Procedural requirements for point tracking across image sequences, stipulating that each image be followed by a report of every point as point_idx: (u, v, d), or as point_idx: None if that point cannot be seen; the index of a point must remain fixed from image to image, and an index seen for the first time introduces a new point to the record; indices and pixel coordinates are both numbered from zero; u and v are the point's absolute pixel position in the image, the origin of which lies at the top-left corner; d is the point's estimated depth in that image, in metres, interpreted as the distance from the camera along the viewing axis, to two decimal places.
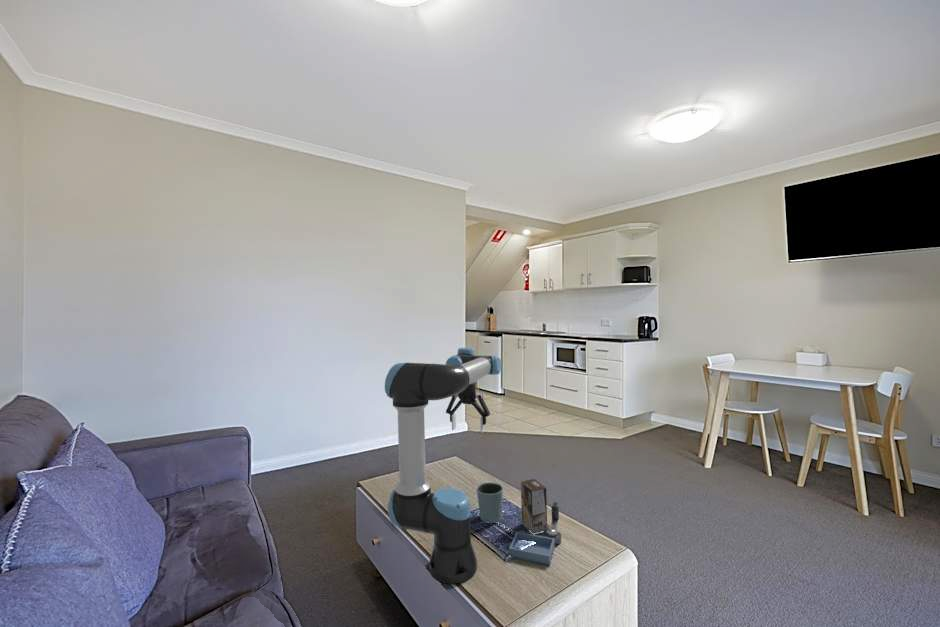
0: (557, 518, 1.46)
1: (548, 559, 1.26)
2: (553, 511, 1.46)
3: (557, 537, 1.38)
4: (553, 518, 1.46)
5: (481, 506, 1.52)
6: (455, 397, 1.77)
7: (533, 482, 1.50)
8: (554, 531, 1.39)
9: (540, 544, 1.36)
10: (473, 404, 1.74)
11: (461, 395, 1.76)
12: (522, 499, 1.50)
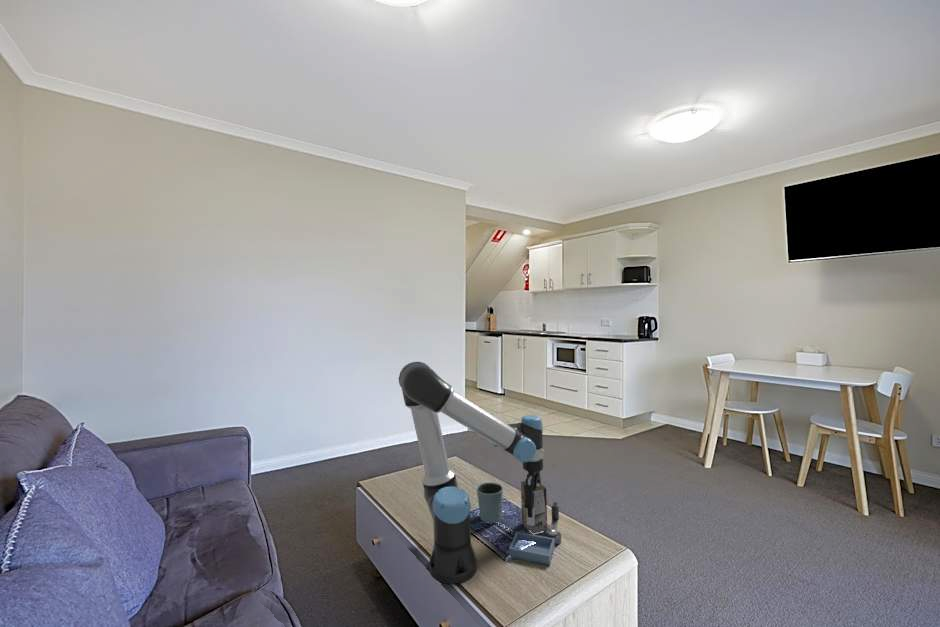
0: (557, 518, 1.46)
1: (548, 559, 1.26)
2: (553, 511, 1.46)
3: (557, 537, 1.38)
4: (553, 518, 1.46)
5: (481, 506, 1.52)
6: None
7: None
8: (554, 531, 1.39)
9: (540, 544, 1.36)
10: None
11: None
12: (522, 499, 1.50)
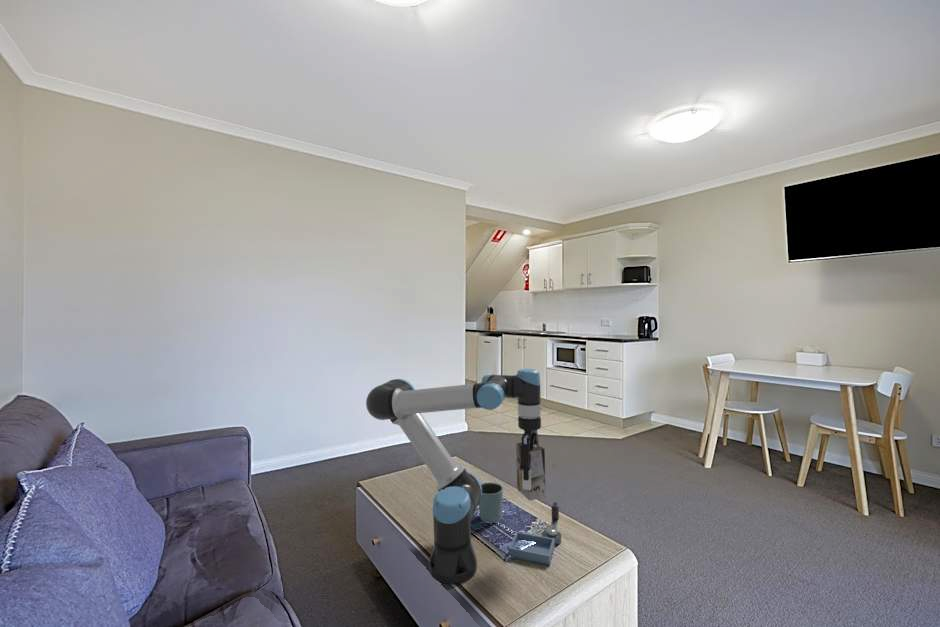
0: (557, 518, 1.46)
1: (548, 559, 1.26)
2: (553, 511, 1.46)
3: (557, 537, 1.38)
4: (553, 518, 1.46)
5: (481, 506, 1.52)
6: None
7: None
8: (554, 531, 1.39)
9: (540, 544, 1.36)
10: None
11: None
12: (518, 462, 1.35)
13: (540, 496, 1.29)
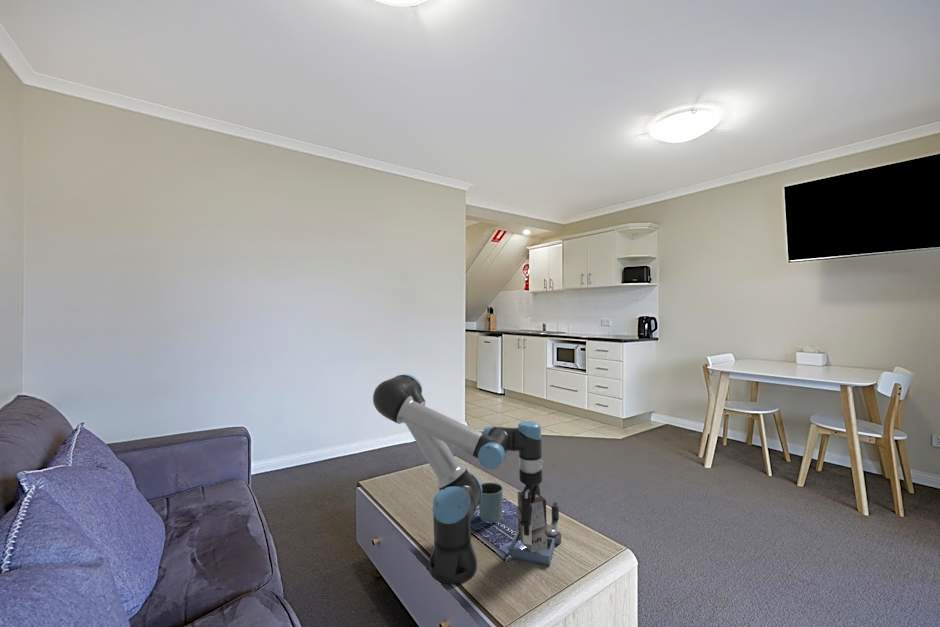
0: (557, 518, 1.46)
1: (548, 559, 1.26)
2: (553, 511, 1.46)
3: (557, 537, 1.38)
4: (553, 518, 1.46)
5: (481, 506, 1.52)
6: None
7: None
8: (554, 531, 1.39)
9: None
10: None
11: None
12: (519, 511, 1.35)
13: (542, 547, 1.29)
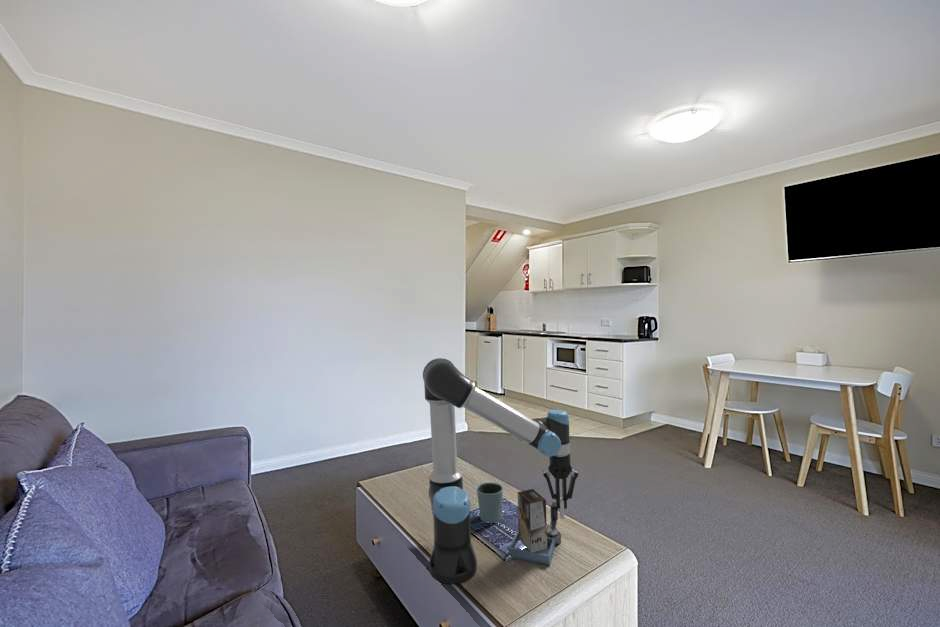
0: (556, 518, 1.46)
1: (548, 559, 1.26)
2: (552, 511, 1.46)
3: (557, 537, 1.38)
4: (552, 518, 1.46)
5: (481, 506, 1.52)
6: (549, 475, 1.46)
7: (532, 492, 1.35)
8: (554, 531, 1.39)
9: None
10: (564, 481, 1.45)
11: (553, 468, 1.45)
12: (519, 511, 1.35)
13: (542, 547, 1.29)
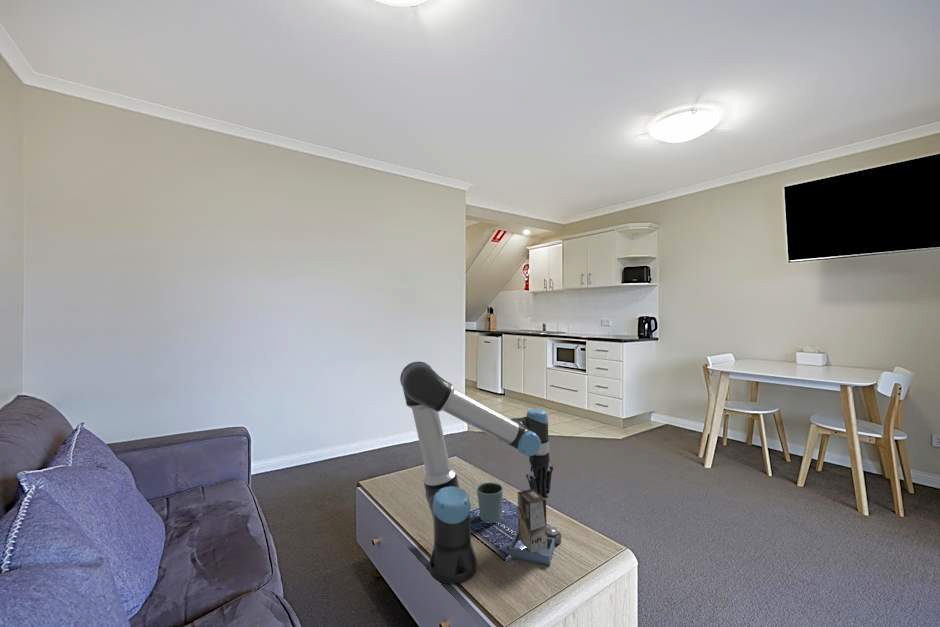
0: None
1: (548, 559, 1.26)
2: None
3: (557, 537, 1.38)
4: None
5: (481, 506, 1.52)
6: (534, 477, 1.44)
7: (532, 492, 1.35)
8: (555, 529, 1.40)
9: None
10: (545, 478, 1.47)
11: (537, 468, 1.45)
12: (519, 511, 1.35)
13: (542, 547, 1.29)
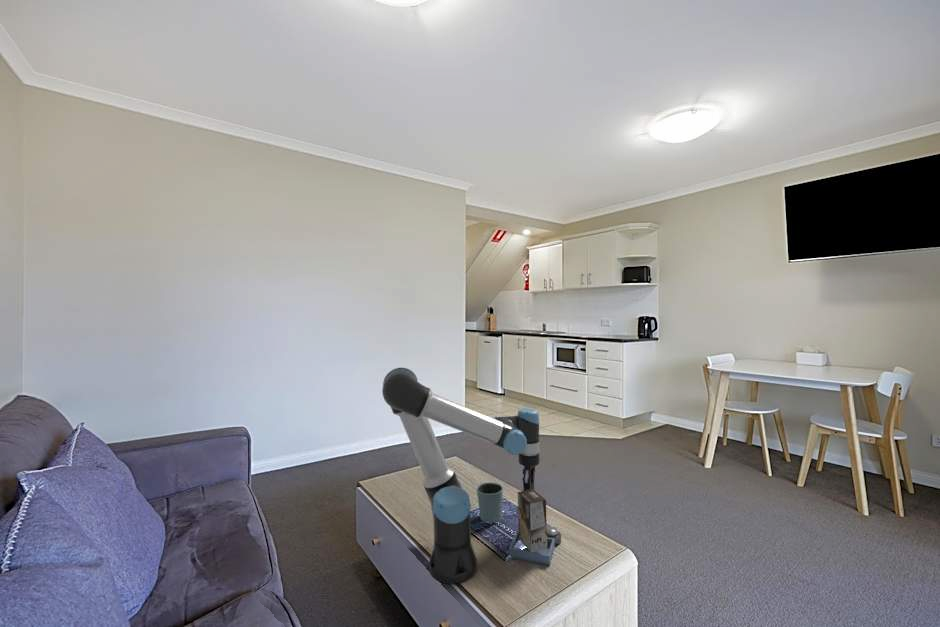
0: None
1: (548, 559, 1.26)
2: None
3: (557, 537, 1.38)
4: None
5: (481, 506, 1.52)
6: (529, 479, 1.40)
7: (532, 492, 1.35)
8: (554, 528, 1.41)
9: None
10: None
11: (530, 469, 1.42)
12: (519, 511, 1.35)
13: (542, 547, 1.29)
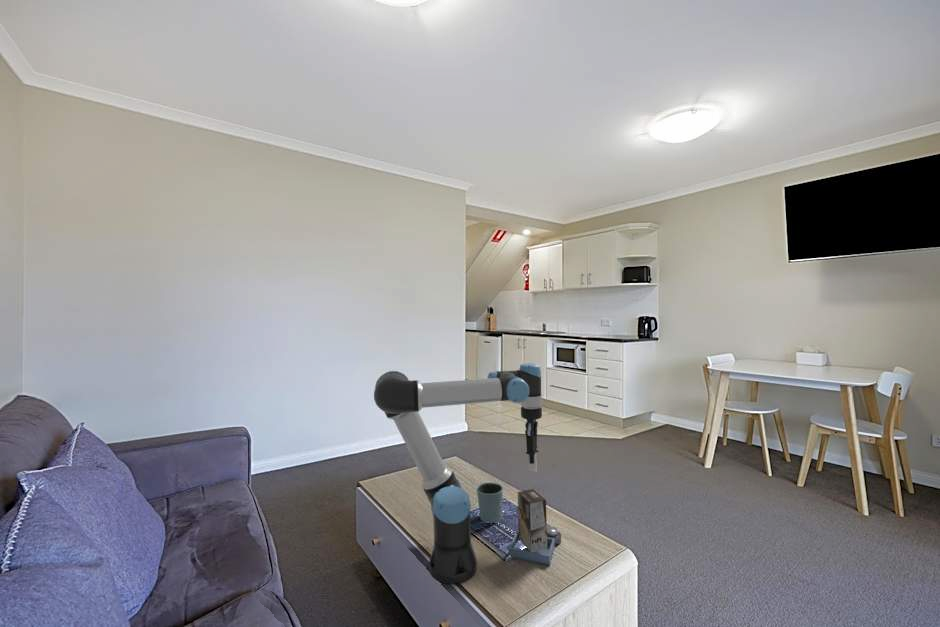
0: None
1: (548, 559, 1.26)
2: None
3: (557, 537, 1.38)
4: None
5: (481, 506, 1.52)
6: None
7: (532, 492, 1.35)
8: (554, 528, 1.41)
9: None
10: (536, 432, 1.45)
11: (533, 422, 1.42)
12: (519, 511, 1.35)
13: (542, 547, 1.29)
